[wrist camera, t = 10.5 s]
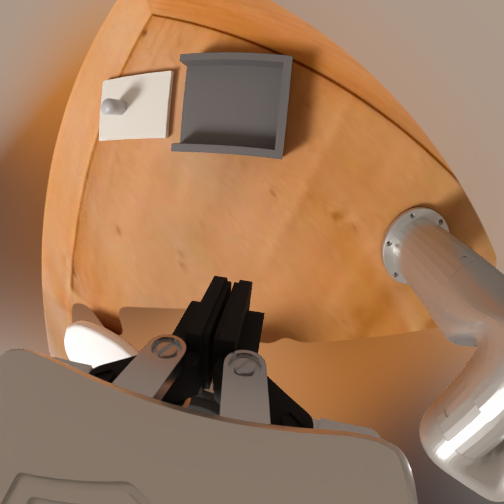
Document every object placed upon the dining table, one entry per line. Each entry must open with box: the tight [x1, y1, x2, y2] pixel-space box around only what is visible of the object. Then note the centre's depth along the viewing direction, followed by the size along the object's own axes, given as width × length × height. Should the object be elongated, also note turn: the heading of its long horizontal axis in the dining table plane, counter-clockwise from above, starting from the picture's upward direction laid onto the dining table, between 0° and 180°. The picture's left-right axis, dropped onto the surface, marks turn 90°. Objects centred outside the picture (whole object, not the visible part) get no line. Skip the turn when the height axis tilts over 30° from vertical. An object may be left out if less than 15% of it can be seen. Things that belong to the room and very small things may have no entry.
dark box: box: [171, 52, 293, 159], centre depth 30 cm, size 14×13×4 cm
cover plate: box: [99, 71, 174, 141], centre depth 31 cm, size 12×10×5 cm
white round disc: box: [64, 320, 139, 368], centre depth 53 cm, size 28×6×27 cm
